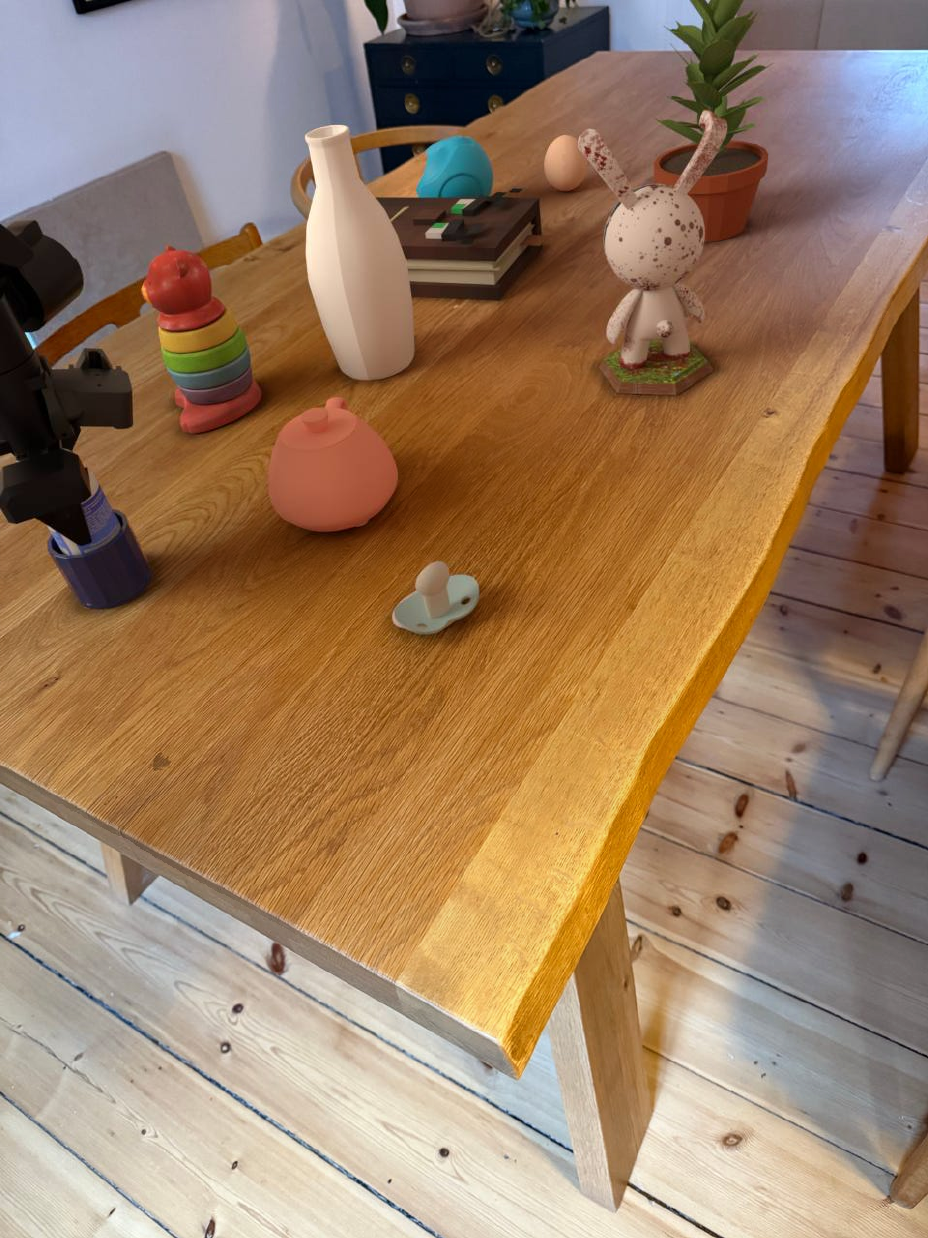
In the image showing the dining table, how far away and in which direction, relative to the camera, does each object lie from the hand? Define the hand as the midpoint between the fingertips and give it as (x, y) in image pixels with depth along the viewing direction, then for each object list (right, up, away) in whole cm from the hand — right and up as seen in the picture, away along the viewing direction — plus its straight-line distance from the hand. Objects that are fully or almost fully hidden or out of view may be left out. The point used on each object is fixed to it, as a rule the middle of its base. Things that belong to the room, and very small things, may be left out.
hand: (83, 526), depth 78 cm
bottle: (+23, +22, +29) cm, 44 cm away
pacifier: (+31, -8, -4) cm, 32 cm away
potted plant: (+67, +45, +45) cm, 92 cm away
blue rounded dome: (+33, +54, +61) cm, 87 cm away
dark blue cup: (+1, -5, +5) cm, 7 cm away
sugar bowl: (+21, +3, +9) cm, 24 cm away
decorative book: (+30, +41, +47) cm, 69 cm away
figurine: (+54, +19, +19) cm, 60 cm away
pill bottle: (+1, -2, +2) cm, 3 cm away
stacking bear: (+5, +17, +27) cm, 32 cm away
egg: (+50, +60, +63) cm, 100 cm away
